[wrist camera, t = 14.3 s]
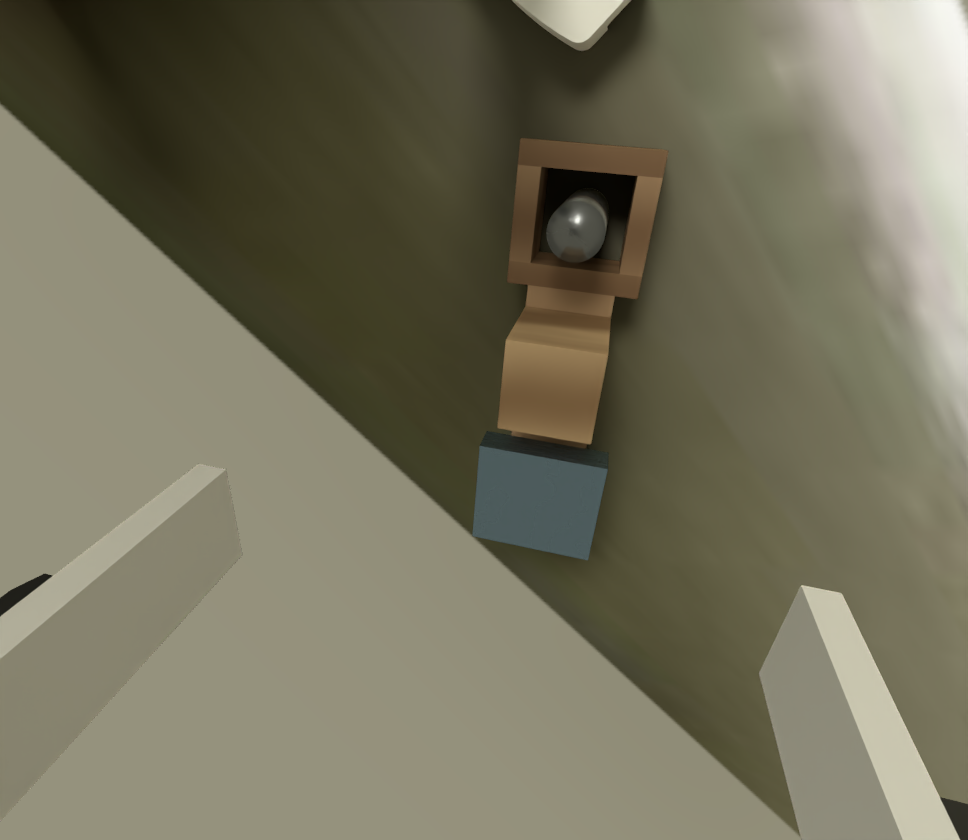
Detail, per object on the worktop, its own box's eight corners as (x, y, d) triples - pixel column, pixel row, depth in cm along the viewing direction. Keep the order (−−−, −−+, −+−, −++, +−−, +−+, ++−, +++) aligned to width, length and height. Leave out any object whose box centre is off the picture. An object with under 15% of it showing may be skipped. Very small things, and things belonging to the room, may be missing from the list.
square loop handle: (530, 138, 25) (495, 137, 18) (663, 149, 24) (680, 153, 17) (502, 421, 32) (469, 499, 25) (604, 439, 31) (598, 524, 24)
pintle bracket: (526, 182, 26) (500, 193, 20) (654, 194, 25) (664, 210, 19) (497, 470, 34) (472, 536, 28) (593, 488, 33) (587, 560, 27)
